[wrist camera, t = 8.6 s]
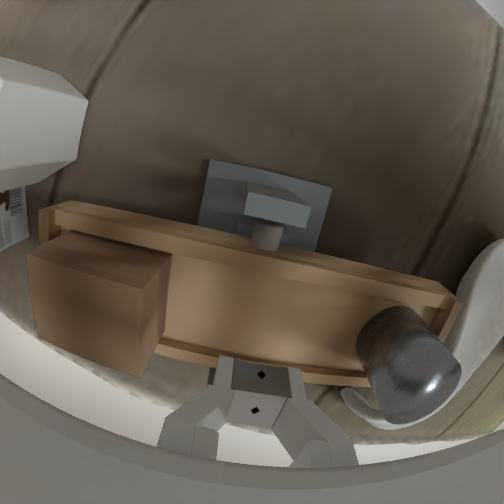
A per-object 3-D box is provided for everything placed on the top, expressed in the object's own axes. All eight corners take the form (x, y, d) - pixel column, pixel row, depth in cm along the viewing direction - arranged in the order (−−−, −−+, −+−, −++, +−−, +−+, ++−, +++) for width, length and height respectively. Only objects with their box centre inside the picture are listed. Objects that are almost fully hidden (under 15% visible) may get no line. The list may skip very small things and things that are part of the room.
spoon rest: (493, 203, 19) (546, 222, 12) (515, 280, 21) (553, 306, 15) (317, 374, 24) (335, 434, 17) (373, 415, 26) (392, 460, 20)
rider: (172, 253, 13) (142, 289, 9) (164, 330, 15) (141, 378, 11) (72, 229, 13) (25, 253, 9) (75, 302, 14) (38, 337, 10)
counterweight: (431, 310, 14) (475, 358, 9) (400, 367, 15) (430, 420, 11) (373, 300, 14) (414, 357, 9) (344, 363, 15) (366, 426, 10)
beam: (443, 266, 15) (471, 286, 12) (389, 375, 18) (404, 403, 15) (72, 182, 14) (39, 189, 11) (73, 311, 17) (49, 334, 14)
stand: (329, 187, 18) (368, 202, 12) (277, 355, 22) (285, 413, 16) (211, 159, 17) (193, 159, 11) (181, 338, 22) (164, 394, 16)
